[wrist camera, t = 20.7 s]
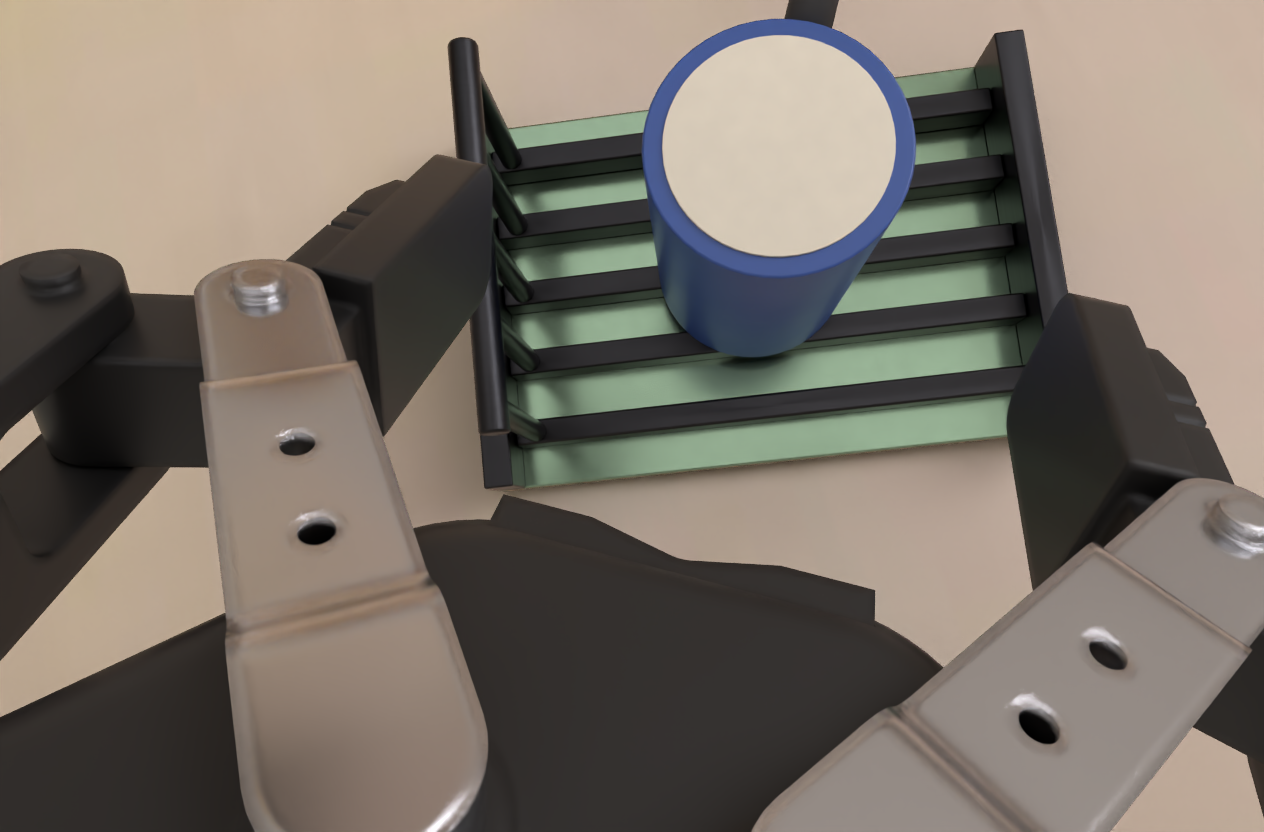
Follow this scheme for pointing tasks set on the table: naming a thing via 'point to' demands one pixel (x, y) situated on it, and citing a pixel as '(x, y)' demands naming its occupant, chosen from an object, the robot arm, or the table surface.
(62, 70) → the table surface
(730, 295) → the blue cylinder with handle
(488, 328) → the dish rack
